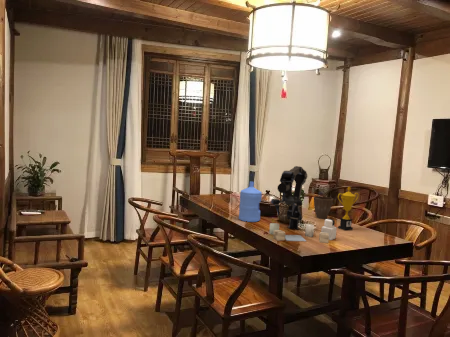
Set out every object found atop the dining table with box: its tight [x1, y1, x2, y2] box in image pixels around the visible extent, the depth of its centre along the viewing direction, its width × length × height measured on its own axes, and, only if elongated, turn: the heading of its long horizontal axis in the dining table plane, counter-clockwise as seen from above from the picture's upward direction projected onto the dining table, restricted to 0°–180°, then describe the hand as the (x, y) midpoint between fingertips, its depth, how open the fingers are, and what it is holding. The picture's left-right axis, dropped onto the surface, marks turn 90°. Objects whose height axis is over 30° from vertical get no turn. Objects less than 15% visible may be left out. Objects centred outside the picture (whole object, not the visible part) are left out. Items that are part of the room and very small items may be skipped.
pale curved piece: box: [268, 222, 280, 236], centre depth 238 cm, size 6×6×6 cm
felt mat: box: [285, 234, 307, 242], centre depth 229 cm, size 12×12×1 cm
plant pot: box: [313, 195, 334, 220], centre depth 293 cm, size 15×15×16 cm
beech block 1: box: [272, 229, 286, 242], centre depth 225 cm, size 5×5×5 cm
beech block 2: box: [318, 231, 330, 244], centre depth 226 cm, size 5×5×5 cm
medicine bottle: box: [320, 218, 338, 241], centre depth 234 cm, size 7×7×12 cm
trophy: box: [337, 186, 360, 231], centre depth 260 cm, size 19×10×30 cm, turn 116°
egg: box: [304, 223, 315, 238], centre depth 237 cm, size 5×5×7 cm
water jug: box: [238, 181, 263, 223], centre depth 271 cm, size 16×16×28 cm
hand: (285, 215), depth 238 cm, fingers open, 9 cm apart
